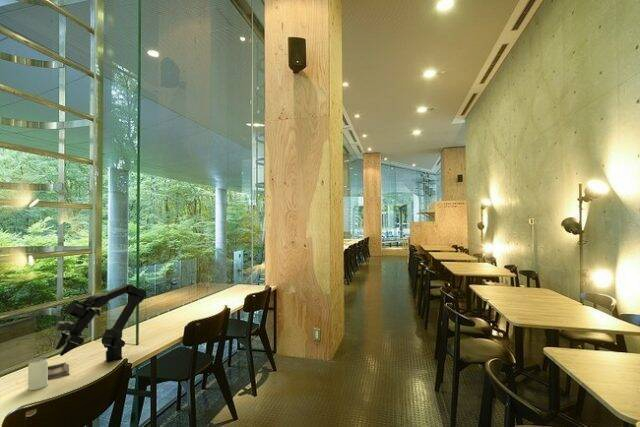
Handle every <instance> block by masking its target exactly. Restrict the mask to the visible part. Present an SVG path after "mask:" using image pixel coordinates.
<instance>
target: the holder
mask: <svg viewBox="0 0 640 427" xmlns="http://www.w3.org/2000/svg"><path fill="white" fill-rule="evenodd" d="M67 376H70V365H69V363H67V362H61V363H57V364H53V365H48V381H51V380H55V379H60V378H62V377H67Z"/></svg>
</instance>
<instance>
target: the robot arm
mask: <svg viewBox="0 0 640 427" xmlns="http://www.w3.org/2000/svg"><path fill="white" fill-rule="evenodd" d="M136 287H137V286H134V285H133V284H132V283H131V284H129V283H124V284H122V285H120V286H117V287H116V288H114V289H113V288H112V289H111V290H108V291H106V292H103V293H97V294H92V295H89V296H88V297H87V298H86V299H85V300H83V301H79V300H76V299H74V300H72V302H70V303H69V304H67V305H66V306H65V308H64V311H63V312H64V314H65V315H68V316H70V317H73V318H74V319H73V320H72V321H67V320H58V321H57V324H56V325H55V329H56V331H59V333H60V338H59V340H58V342H57V344H56V346H55V350H59V349H61V348H62V347H63V346H64V347H63V348H62V349H61V351H60V353H59V356H61V357H63V356H64V355H65V354H67V353H69V352H70V351H72V350H74V349H75V348H77V347H79V346H82V345H83V344H84V342H85V338H84V337H83V332H84V331H85V330H86V329H88V328H89V327H90V325H89V324H90V323H91V322H92V321H93V319H94V318H95V317H96V316H97V317H98V316H99V317H100V316H101V310H100V308H103V306H106V305H107V304H108V302H109V301H111V300H114V299H116V298H117V297H120V296H122V295H125V294H126V295H128V296H127V302H126V305H125V306H124V307H123V309H122V311H121V313H120V314H119V316H118V317H117V320H115V323H114V325H113V326H112V327H111V328H108V329H106V330H105V331H104V333H103V335H101V344H102V346H103V347H104V348H105V349H106V350H105V360H106V361H107V362H108V363H110V362H115V361H119V360H122V359H123V356H122V355H123V350H122V349H123V348H124V347H125V345H126V341H125V340H123V331H124V328H125V327H126V325H127V323H128V321H129V319H130V318H131V316H132V314H133V313H134V311H135V309H136V308H137V306H138V305H139V304H140V303H142V302H143V301H144V299H145V298H146V297H147V291H146V289H143V288H140V287H137V288H139V289H138V290H137V288H136ZM95 308H96V309H95Z"/></svg>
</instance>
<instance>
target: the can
mask: <svg viewBox="0 0 640 427" xmlns="http://www.w3.org/2000/svg"><path fill="white" fill-rule="evenodd" d="M27 366H28V367H27V368H28V373H27V374H28V377H27V378H28V379H27V381H28V382H27V384H28V385H27V387H28V388H27V389H28V390H29V391H37V390H42V389H43V388H45V387H47V386H48V384H49V380H48V366H49V362H48V359H47V357H46V356H39V357H35V358H33V359H31V360H29V363H28V365H27Z"/></svg>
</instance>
